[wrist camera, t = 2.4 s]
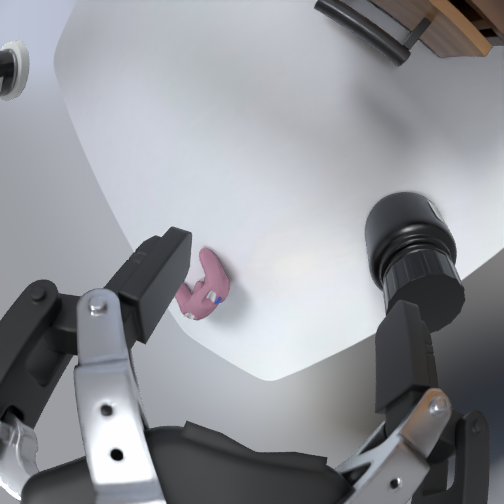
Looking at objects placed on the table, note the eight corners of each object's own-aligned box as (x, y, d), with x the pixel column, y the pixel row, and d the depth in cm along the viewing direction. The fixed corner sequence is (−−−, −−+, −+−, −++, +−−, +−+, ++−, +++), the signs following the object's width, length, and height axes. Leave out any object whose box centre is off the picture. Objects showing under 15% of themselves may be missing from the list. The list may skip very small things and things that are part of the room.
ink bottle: (427, 266, 30) (450, 346, 21) (359, 260, 32) (362, 344, 23) (447, 191, 24) (494, 261, 15) (369, 181, 27) (388, 251, 17)
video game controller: (197, 288, 44) (198, 330, 40) (170, 280, 42) (169, 324, 37) (233, 253, 38) (238, 300, 34) (202, 242, 36) (204, 292, 32)
